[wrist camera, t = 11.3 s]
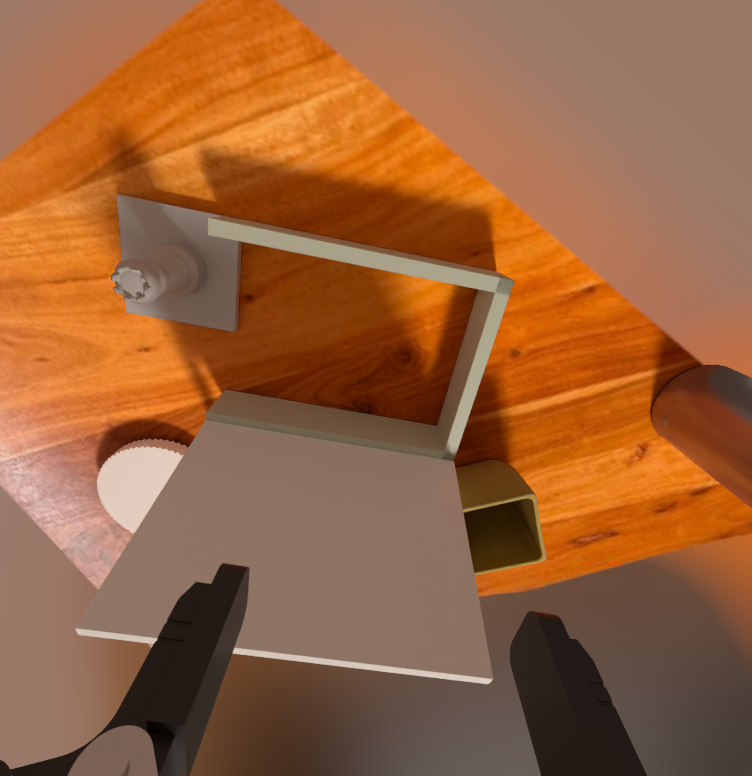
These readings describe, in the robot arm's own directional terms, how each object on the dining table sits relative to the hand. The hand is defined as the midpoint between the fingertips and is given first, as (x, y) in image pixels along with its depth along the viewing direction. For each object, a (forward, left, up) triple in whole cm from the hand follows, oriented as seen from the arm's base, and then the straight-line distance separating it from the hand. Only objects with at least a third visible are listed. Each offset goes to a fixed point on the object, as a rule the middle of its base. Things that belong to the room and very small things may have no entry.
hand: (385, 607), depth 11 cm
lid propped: (+3, +12, -24) cm, 27 cm away
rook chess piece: (+18, -2, -28) cm, 34 cm away
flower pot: (-14, +16, -29) cm, 36 cm away
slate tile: (+19, -2, -29) cm, 35 cm away
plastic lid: (+21, +24, -30) cm, 43 cm away
